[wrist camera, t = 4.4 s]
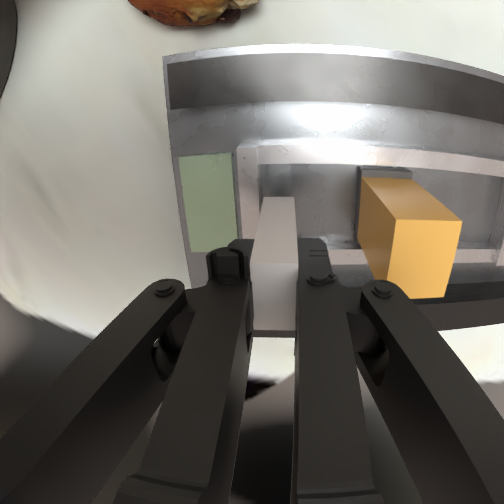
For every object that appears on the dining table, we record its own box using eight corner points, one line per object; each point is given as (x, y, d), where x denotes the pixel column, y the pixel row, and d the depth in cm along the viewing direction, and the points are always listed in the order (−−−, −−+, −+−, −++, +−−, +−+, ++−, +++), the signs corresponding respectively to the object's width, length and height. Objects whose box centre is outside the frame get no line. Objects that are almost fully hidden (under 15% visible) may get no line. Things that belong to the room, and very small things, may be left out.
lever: (354, 238, 19) (381, 307, 13) (358, 166, 17) (397, 209, 11) (399, 238, 18) (441, 304, 12) (407, 168, 16) (464, 211, 10)
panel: (204, 306, 25) (191, 342, 21) (174, 59, 17) (146, 53, 13) (499, 298, 22) (520, 327, 18) (537, 92, 14) (573, 99, 10)
